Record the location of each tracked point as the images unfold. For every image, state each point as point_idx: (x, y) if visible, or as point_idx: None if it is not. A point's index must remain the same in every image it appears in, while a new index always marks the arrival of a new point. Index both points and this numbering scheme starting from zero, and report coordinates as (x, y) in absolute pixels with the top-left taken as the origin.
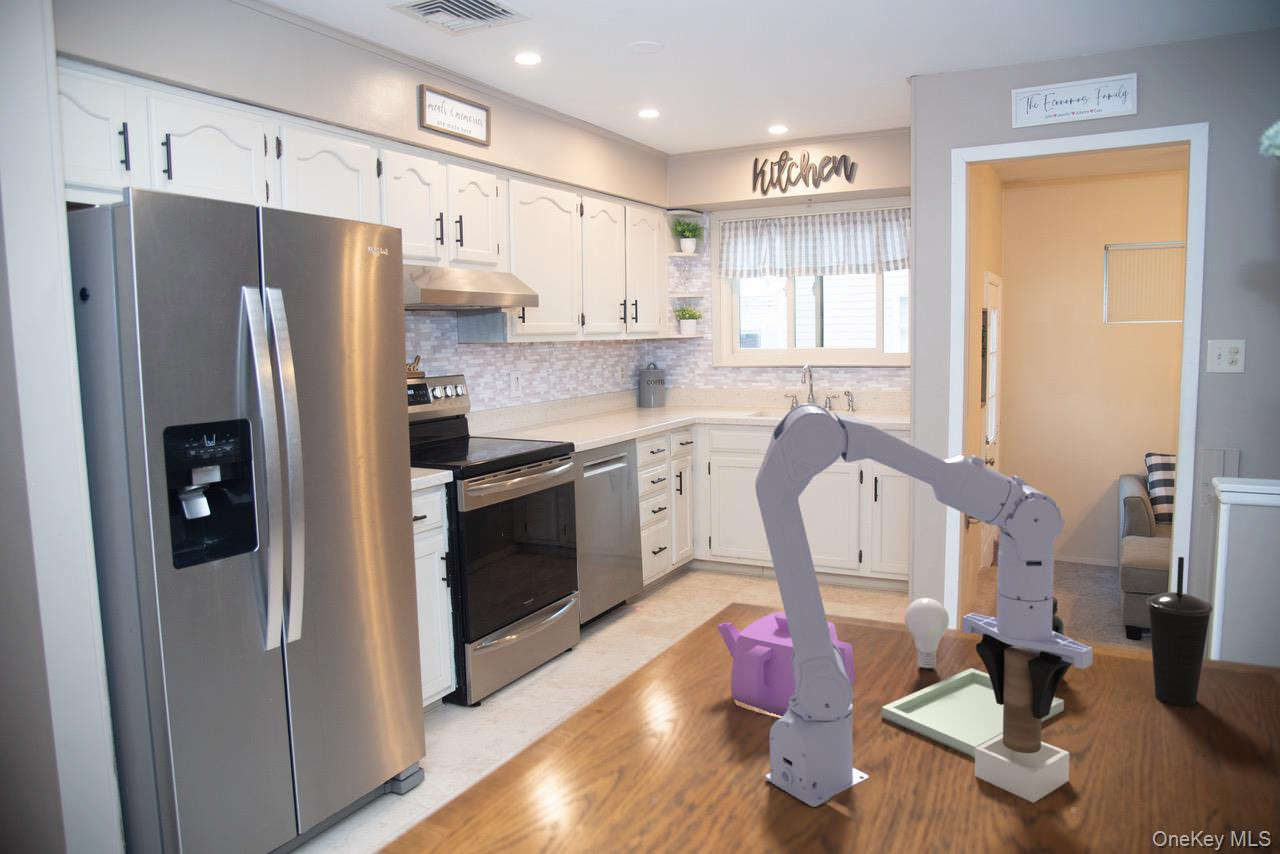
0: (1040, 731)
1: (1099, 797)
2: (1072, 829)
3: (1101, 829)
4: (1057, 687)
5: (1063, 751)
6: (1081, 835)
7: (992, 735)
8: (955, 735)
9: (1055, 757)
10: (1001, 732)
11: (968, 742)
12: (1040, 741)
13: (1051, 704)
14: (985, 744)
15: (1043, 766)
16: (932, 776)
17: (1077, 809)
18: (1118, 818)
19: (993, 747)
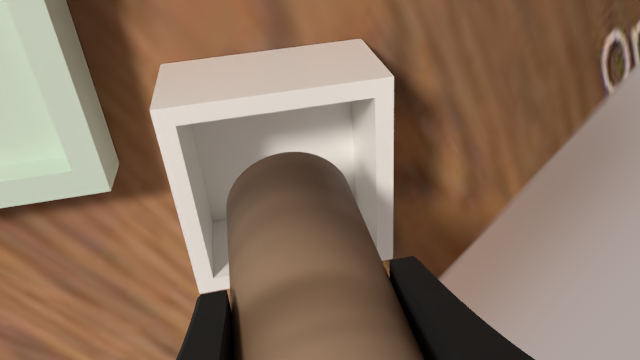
0: (365, 223)
1: (448, 19)
2: (465, 194)
3: (509, 143)
4: (505, 340)
5: (376, 87)
6: (487, 195)
7: (61, 82)
8: (9, 191)
9: (383, 145)
10: (51, 30)
11: (75, 188)
12: (354, 198)
13: (438, 280)
14: (197, 257)
15: (390, 215)
16: (132, 292)
17: (436, 120)
18: (521, 70)
19: (202, 221)
